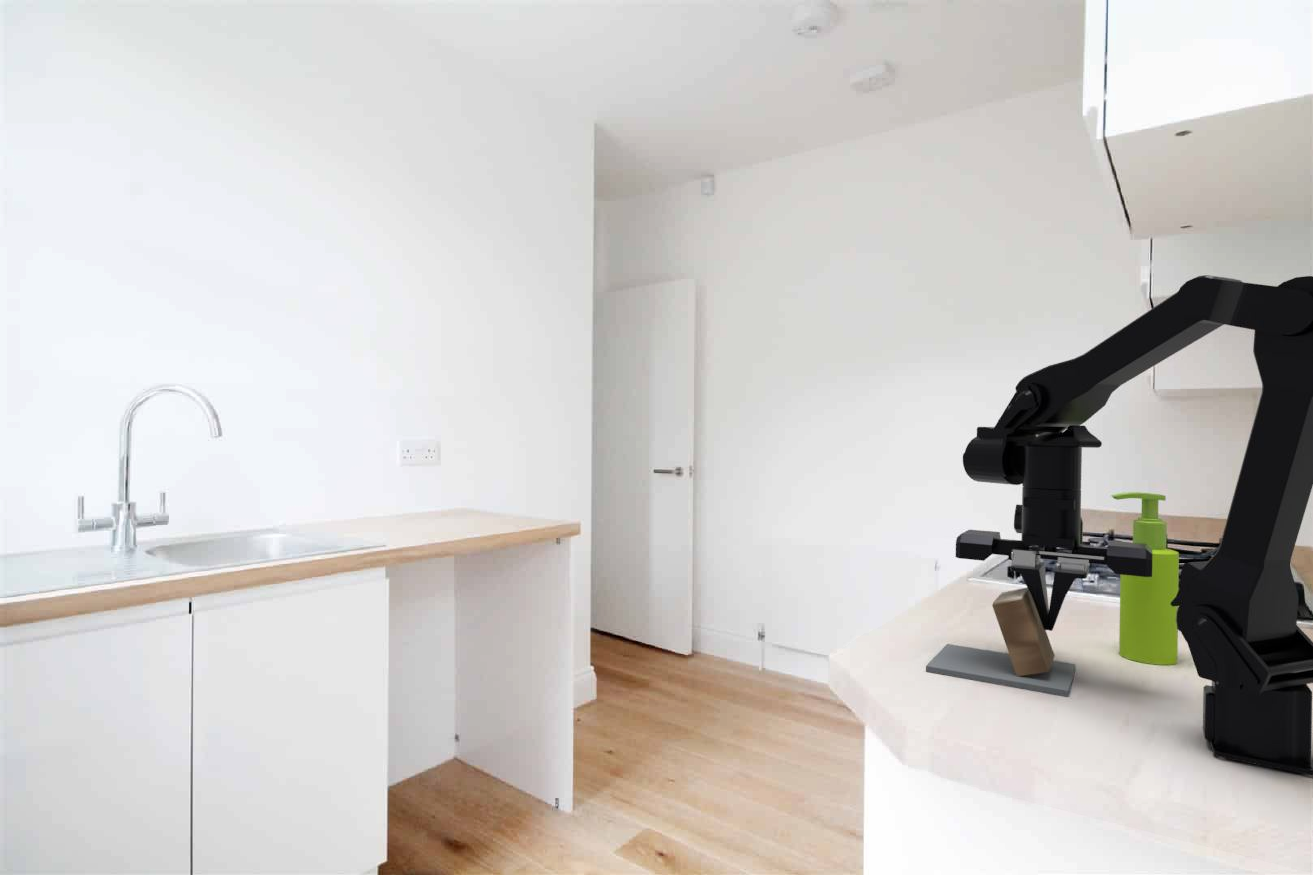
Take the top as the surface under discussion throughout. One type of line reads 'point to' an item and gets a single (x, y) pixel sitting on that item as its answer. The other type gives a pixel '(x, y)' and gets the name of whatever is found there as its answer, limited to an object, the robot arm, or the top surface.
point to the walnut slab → (1023, 632)
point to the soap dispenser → (1150, 592)
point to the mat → (1000, 670)
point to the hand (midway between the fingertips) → (1048, 629)
